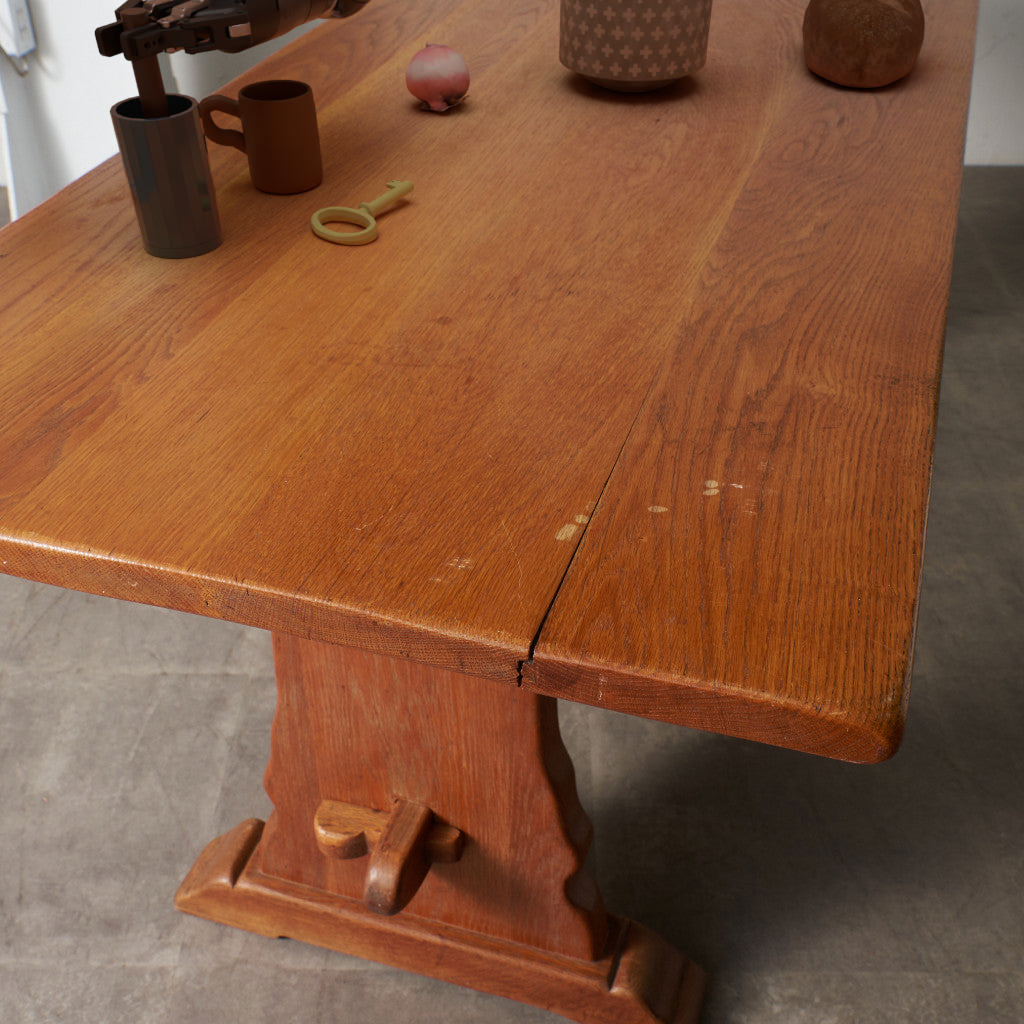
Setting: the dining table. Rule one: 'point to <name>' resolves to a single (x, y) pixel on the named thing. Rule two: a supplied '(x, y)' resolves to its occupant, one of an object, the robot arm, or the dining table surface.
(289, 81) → the mug
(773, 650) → the dining table surface
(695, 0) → the planter
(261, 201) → the dining table surface
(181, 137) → the cup
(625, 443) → the dining table surface
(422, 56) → the onion
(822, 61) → the bread
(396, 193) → the key
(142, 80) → the brush
